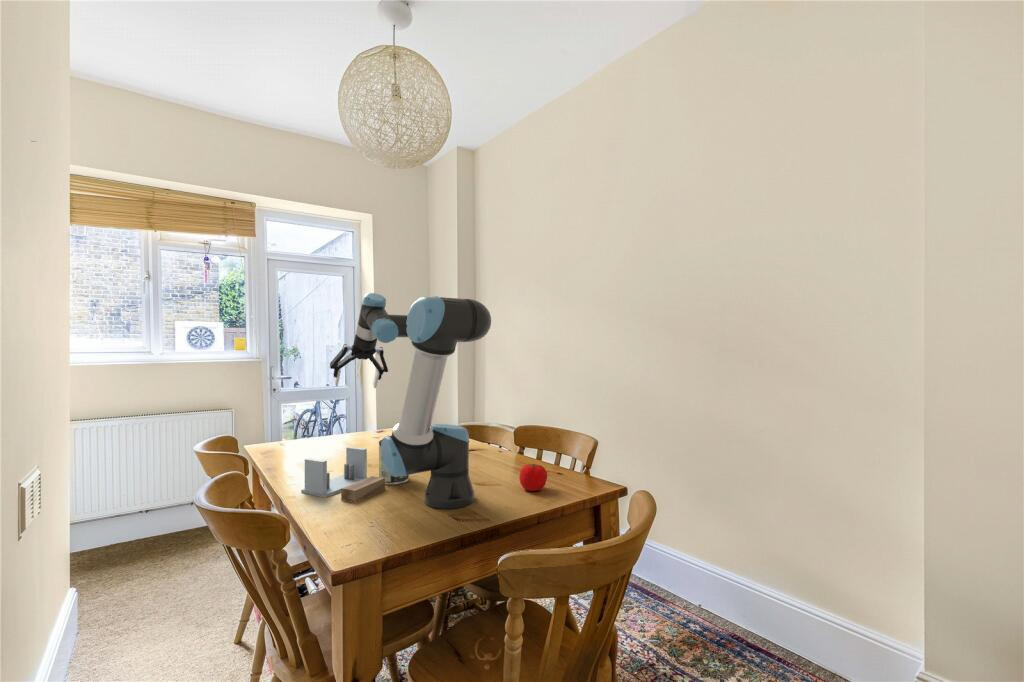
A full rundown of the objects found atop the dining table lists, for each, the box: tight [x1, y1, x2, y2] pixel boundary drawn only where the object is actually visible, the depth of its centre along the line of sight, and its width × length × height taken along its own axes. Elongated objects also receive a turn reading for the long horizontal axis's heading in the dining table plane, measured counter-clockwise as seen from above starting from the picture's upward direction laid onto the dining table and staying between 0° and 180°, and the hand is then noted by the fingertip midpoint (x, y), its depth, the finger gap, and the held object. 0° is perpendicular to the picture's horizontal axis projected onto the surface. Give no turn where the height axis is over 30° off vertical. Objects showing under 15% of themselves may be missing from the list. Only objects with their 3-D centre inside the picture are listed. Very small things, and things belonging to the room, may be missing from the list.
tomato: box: [518, 463, 548, 492], centre depth 154 cm, size 9×10×8 cm
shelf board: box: [340, 475, 386, 504], centre depth 148 cm, size 6×14×4 cm, turn 157°
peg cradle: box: [300, 446, 368, 498], centre depth 156 cm, size 11×20×11 cm, turn 155°
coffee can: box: [378, 439, 410, 486], centre depth 163 cm, size 10×10×14 cm
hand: (355, 385), depth 170 cm, fingers open, 13 cm apart
